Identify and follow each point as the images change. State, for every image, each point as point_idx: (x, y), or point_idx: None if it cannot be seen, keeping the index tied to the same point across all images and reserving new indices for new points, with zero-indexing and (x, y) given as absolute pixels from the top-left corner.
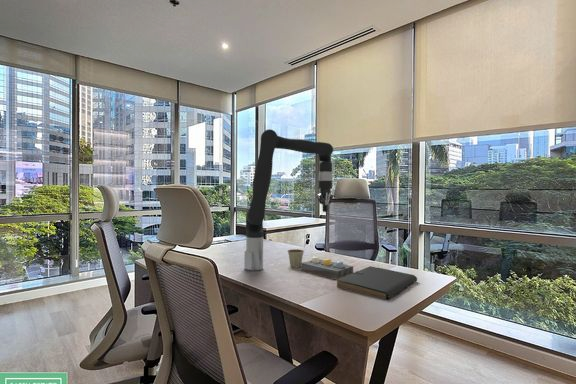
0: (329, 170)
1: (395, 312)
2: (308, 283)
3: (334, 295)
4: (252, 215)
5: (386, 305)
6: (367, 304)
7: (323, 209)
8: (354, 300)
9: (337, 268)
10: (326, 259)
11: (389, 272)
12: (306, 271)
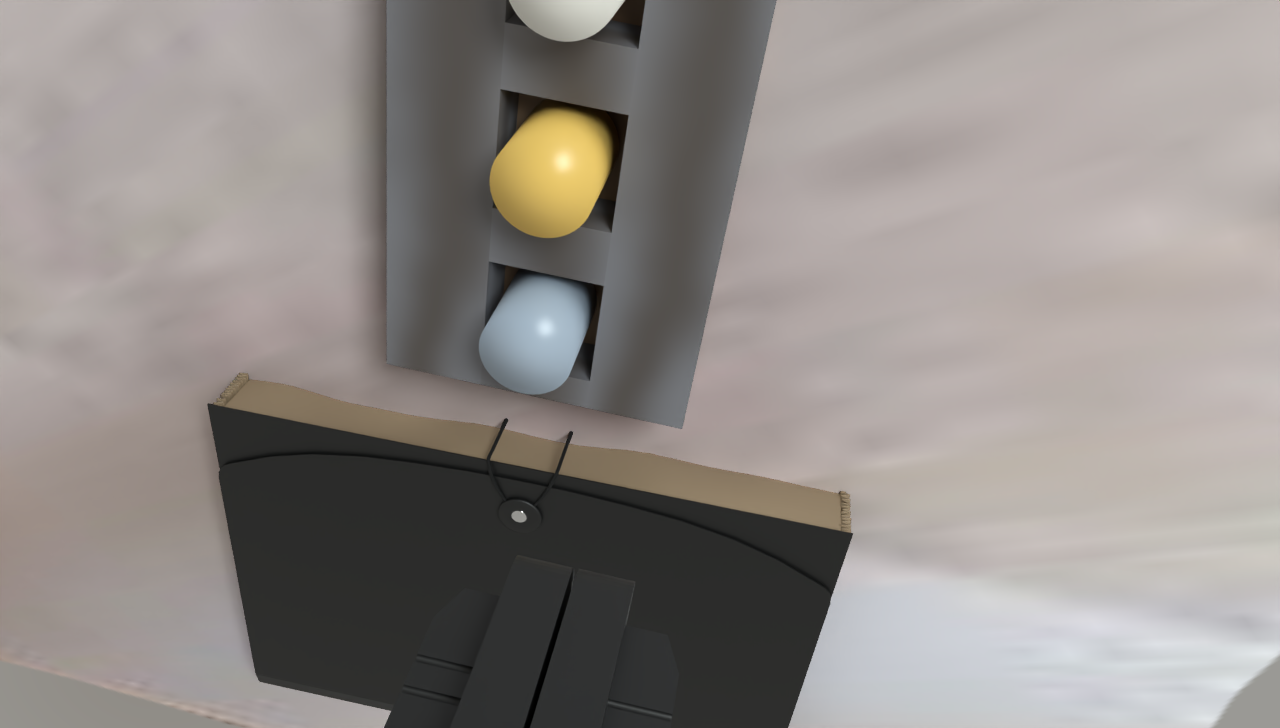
0: None
1: (158, 689)
2: (119, 142)
3: (87, 412)
4: None
5: (203, 655)
6: (134, 586)
7: (444, 661)
8: (124, 525)
9: (478, 326)
10: (545, 179)
11: (719, 675)
12: None
